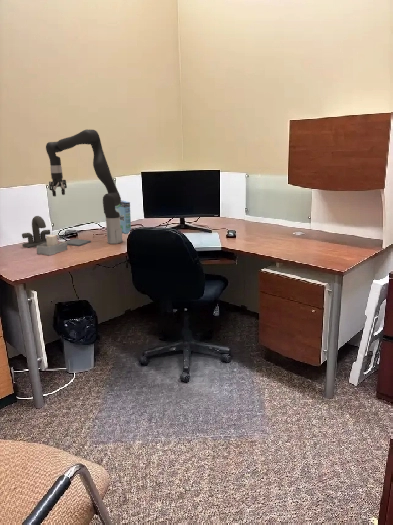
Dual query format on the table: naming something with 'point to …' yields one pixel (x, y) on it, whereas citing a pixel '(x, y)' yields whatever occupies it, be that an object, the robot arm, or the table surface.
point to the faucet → (36, 233)
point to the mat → (77, 242)
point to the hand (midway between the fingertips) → (59, 195)
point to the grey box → (51, 248)
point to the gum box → (124, 216)
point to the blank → (51, 240)
